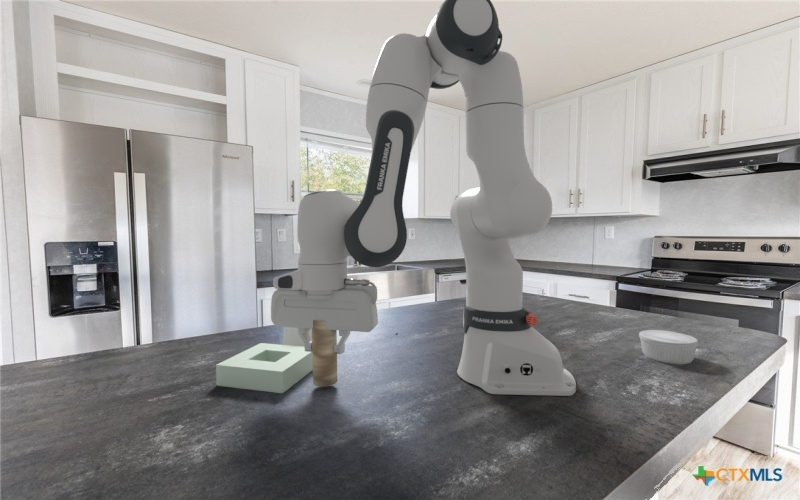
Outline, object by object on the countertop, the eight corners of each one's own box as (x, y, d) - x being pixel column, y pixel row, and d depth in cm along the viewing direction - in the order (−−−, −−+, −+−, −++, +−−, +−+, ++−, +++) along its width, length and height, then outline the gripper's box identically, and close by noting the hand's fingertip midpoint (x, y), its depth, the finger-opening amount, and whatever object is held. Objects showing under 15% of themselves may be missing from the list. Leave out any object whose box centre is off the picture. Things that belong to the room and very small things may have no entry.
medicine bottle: (321, 344, 95) (320, 298, 94) (311, 353, 88) (311, 304, 87) (294, 343, 95) (293, 298, 95) (283, 352, 88) (282, 303, 88)
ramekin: (644, 362, 83) (645, 339, 83) (633, 348, 93) (634, 327, 93) (705, 369, 79) (706, 345, 78) (687, 353, 89) (688, 332, 89)
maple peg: (341, 377, 70) (340, 316, 70) (331, 387, 66) (330, 321, 65) (319, 375, 71) (318, 315, 71) (308, 385, 67) (307, 320, 66)
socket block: (317, 365, 80) (317, 347, 79) (282, 393, 66) (282, 371, 66) (260, 360, 83) (260, 343, 83) (216, 385, 69) (216, 364, 69)
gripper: (382, 277, 68) (382, 350, 69) (283, 275, 73) (285, 343, 74) (371, 282, 62) (372, 362, 63) (264, 279, 67) (267, 353, 68)
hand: (324, 351), depth 68 cm, fingers closed on maple peg, 4 cm apart
